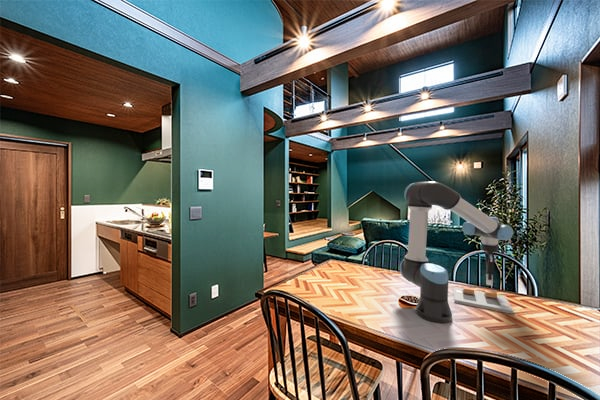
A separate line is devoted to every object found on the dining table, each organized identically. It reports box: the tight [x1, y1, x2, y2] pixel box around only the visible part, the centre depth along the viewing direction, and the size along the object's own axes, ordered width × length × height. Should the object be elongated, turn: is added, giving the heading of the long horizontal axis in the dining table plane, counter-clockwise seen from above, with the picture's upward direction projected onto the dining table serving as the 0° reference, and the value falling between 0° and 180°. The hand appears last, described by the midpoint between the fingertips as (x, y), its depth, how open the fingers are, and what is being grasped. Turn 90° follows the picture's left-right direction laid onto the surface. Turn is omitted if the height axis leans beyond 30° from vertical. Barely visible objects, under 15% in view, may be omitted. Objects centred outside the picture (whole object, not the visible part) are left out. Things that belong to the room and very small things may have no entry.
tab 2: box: [484, 289, 498, 298], centre depth 131 cm, size 3×5×2 cm, turn 58°
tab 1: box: [462, 286, 475, 295], centre depth 136 cm, size 3×5×2 cm, turn 58°
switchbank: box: [453, 286, 515, 315], centre depth 131 cm, size 20×24×2 cm
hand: (489, 284), depth 137 cm, fingers closed
